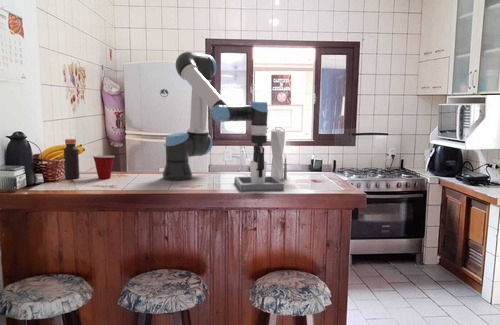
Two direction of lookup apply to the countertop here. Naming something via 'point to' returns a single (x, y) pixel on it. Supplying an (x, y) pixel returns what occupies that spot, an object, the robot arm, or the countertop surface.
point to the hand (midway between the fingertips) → (258, 182)
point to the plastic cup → (103, 166)
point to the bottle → (71, 159)
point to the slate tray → (269, 184)
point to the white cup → (254, 172)
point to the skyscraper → (278, 154)
